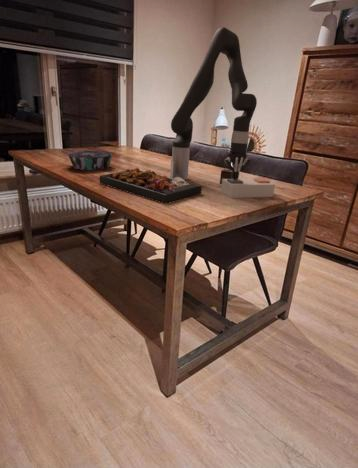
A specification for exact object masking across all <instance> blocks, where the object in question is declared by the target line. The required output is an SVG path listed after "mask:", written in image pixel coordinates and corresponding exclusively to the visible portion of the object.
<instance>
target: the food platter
mask: <svg viewBox="0 0 358 468" xmlns="http://www.w3.org/2000/svg"><path fill="white" fill-rule="evenodd" d="M101 183H102V184H101ZM99 184H101V185H104V184H105V186H107V185H109V186H108V187H111V186H112V187H111V188H114V187H115V189H117V188H118V189H117V190H120V189H122V190H121V191H123V190H125V191H124V192H126V191H128V192H127V193H130V192H131V194H133V193H134V194H133V195H136V194H137V196H139V195H140V197H142V196H144V197H143V198H146V197H147V198H146V199H149V198H150V199H149V200H152V199H153V201H155V200H157V201H156V202H158V201H160V202H159V203H161V202H163V203H162V204H165V203H167V204H170V203H169V202H171V203H174V202H178V201H181V200H184V198H185V199H187V198H191V197H194V196H197V195H198V196H199V195H201V194H202V188H203V187H202V185H201V184H200V185H199V184H197V183H195V182H193V183H191V182H188V181H185V179H184V180H183V178H180V177H175V178H174V179H172V178H171V177H168V176H167V175H161V174H159V173H158V174H157V173H156V172H155V171H153V170H152V171H151V169H147V170H145V171H143V170H140V168H138V167H135V168H134V169H133V168H132V169H129V168H128V169H126V170H122V171H118V172H112V173H107V174H101V175H99ZM180 199H181V200H180ZM177 200H178V201H177ZM173 201H174V202H173Z"/></svg>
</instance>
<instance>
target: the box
mask: <svg viewBox="0 0 358 468" xmlns="http://www.w3.org/2000/svg"><path fill="white" fill-rule="evenodd" d="M222 179H233V178H232V170H230V169H229V168H224V169H222V170H220V179H219V184H220V185H222Z"/></svg>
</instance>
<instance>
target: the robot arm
mask: <svg viewBox="0 0 358 468" xmlns="http://www.w3.org/2000/svg"><path fill="white" fill-rule="evenodd" d="M220 54H223V55H225V57H226V58H227V59H228V63H229V68H228V72H227V75H228V81H229V85H230V88H231V106H232V108H233V109H234V110H236V111H237V112H242V114H241V115H240V116H239V115H238V116H236V117H234V119H233V120H234V121H233V126H232V127H233V129H232V134H231V139H230V141H231V142H230V150H229V154H228V156H227V157H226V158H224V159H223V162H224V163H225V165H226V166H227V169H230V170H232V178H233V179H234V180H237V179H240V178H239V177H240V176H239V175H240V172H243V171H244V170H245V169H246V168H247V166H248V165H249V164H251V161H252V160H250V159H249V158H248V156H247V153H248V147H249V139H250V138H249V137H250V136H249V135H250V134H249V133H250V127H251V126H250V125H251V121H252V118H253V116H254V113H255V111H256V108H257V104H258V101H257V97H256V95H255V94H253V93H244V92H246V91H247V89H248V86H249V85H248V80H247V77H246V75H245V71H244V68H243V62H242V55H241V46H240V40H239V36H238V35H237V34H236V33H235V32H233V31H231V30H230V29H228V28H226V27H225V26H222V27H218V29H217V30H216V31H215V32H214V34H213V37H212V38H211V41H210V43H209V45H208V48H207V51H206V53H205V55H204V57H203V58H204V59H203V60H202V62H201V65H200V67H199V69H198V70H197V72H196V75H195V76H194V78H193V80H192V82H191V85H190V87H189V89H188V91H187V92H186V95H185V97H184V99H183V101H182V102H181V104H180V107H179V108H178V110H177V111H176V112H175V114H174V115H173V117H172V119H171V123H170V129H171V131H172V132H173V133H174V134H176V135H175V138H174V139H173V141H172V148H171V149H172V151H171V152H172V153H171V155H172V156H171V160H170V174H169V175H170V176H169V178H172V179H174V178H175V177H180V178H183V180H184V179H185V180H188V179H189V164H190V149H191V147H190V146H191V142H192V141H193V140H192V139H193V130H194V129H193V128H194V123H193V119H192V118H191V117H192V115H193V113H194V112H195V110H196V109H197V108H198V107H199V106H200V105H201V103H203V101H205V99H206V97H207V96H208V95H209V93H210V90H211V89H212V88H213V84H214V79H215V66H216V62H217V60H218V58H219V56H220Z"/></svg>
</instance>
